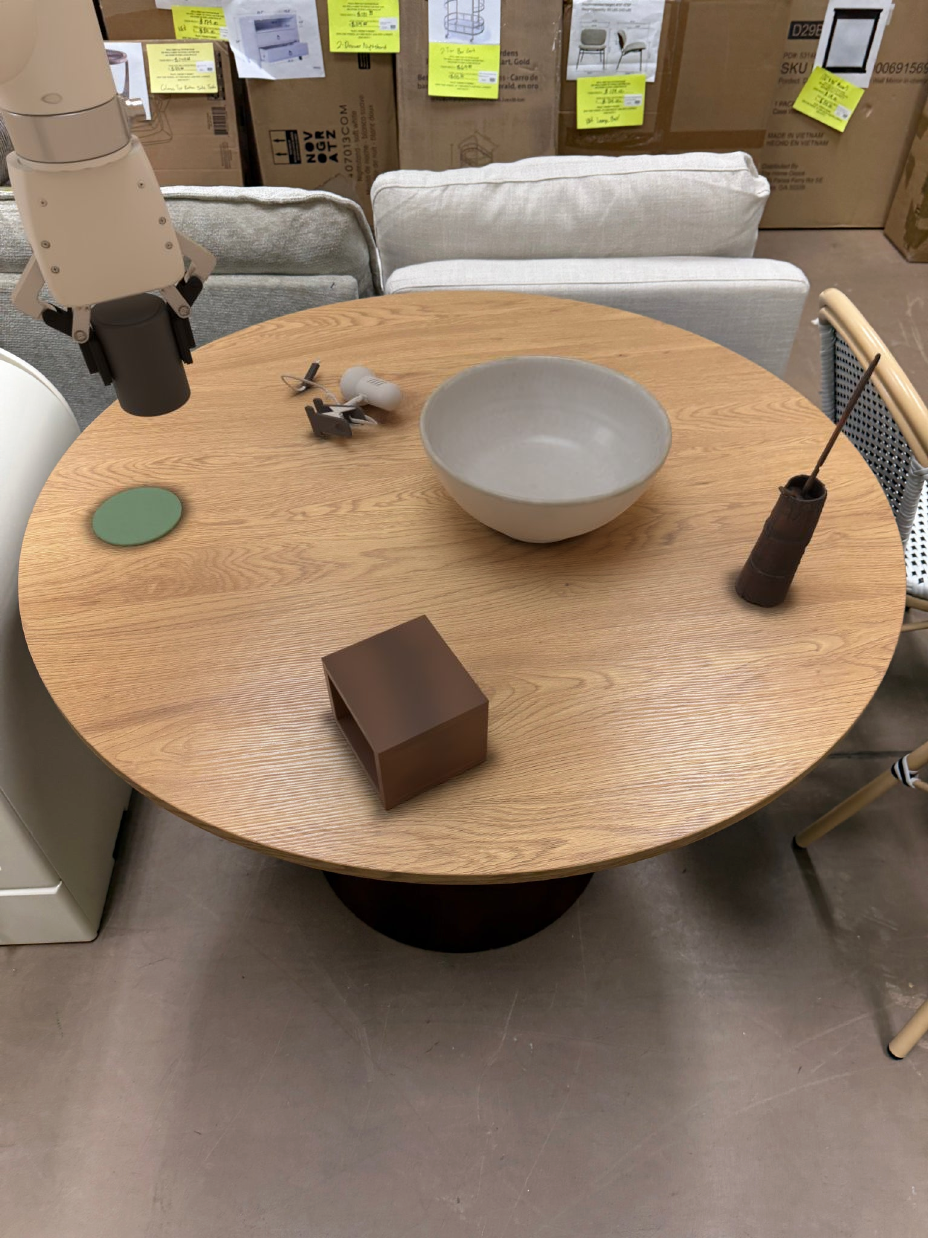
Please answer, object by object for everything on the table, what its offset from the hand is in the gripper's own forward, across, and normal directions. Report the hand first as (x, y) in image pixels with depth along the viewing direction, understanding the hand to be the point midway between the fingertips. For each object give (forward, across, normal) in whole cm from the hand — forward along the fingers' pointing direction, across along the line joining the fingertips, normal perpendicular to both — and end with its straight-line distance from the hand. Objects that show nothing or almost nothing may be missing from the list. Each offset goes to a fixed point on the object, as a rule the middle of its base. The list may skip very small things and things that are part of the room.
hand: (145, 365), depth 68 cm
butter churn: (+26, -49, +30) cm, 63 cm away
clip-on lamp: (+26, -24, -23) cm, 42 cm away
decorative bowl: (+26, -37, +7) cm, 46 cm away
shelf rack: (+26, -9, +28) cm, 39 cm away
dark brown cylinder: (+3, 0, 0) cm, 3 cm away
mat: (+26, +5, -14) cm, 30 cm away
